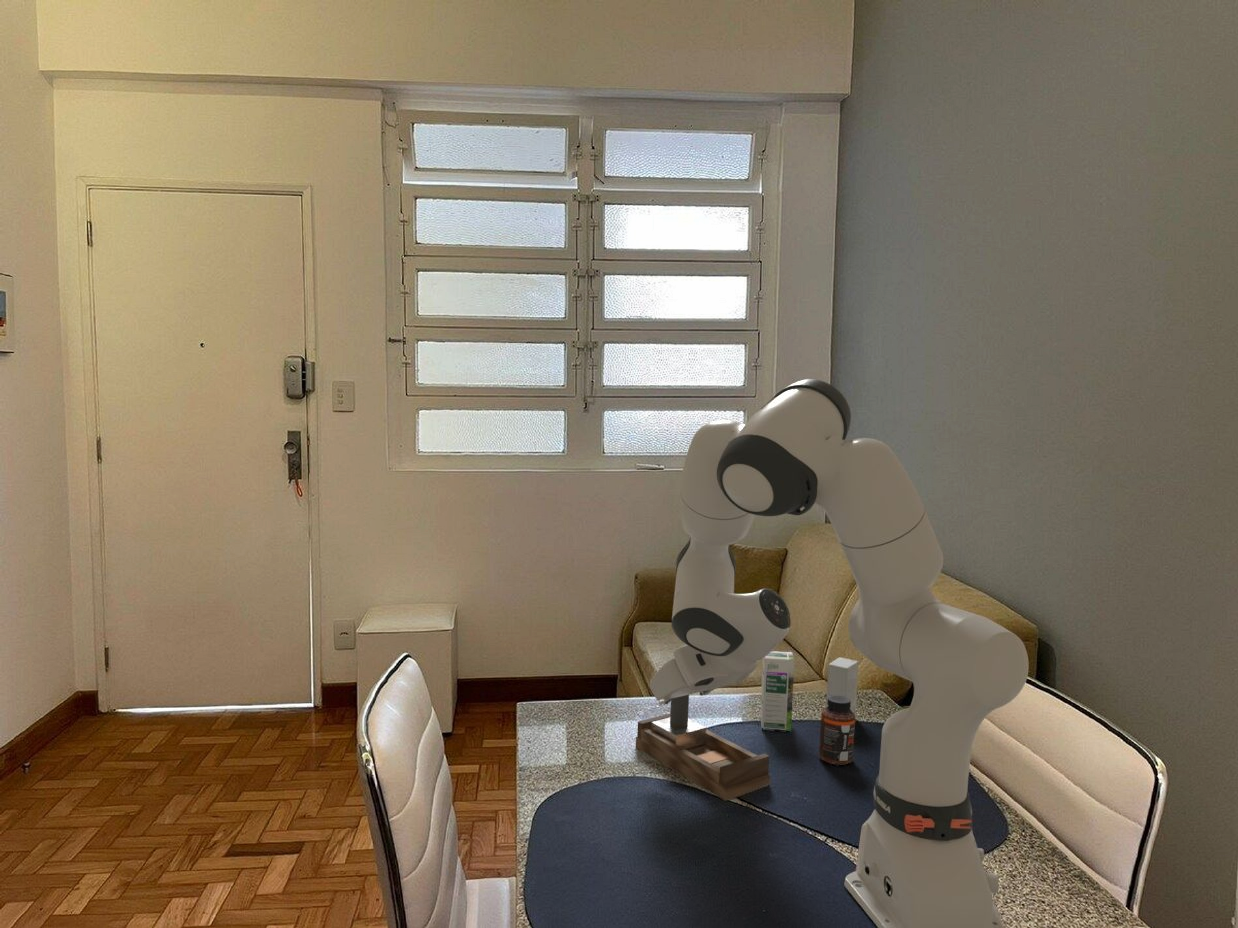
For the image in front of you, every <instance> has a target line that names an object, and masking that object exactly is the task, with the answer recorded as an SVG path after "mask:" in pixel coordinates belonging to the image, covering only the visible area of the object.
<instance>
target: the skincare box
mask: <svg viewBox="0 0 1238 928" xmlns="http://www.w3.org/2000/svg"><path fill="white" fill-rule="evenodd" d="M858 672H859V660H854V659H849V658H845V657H841V656H840V657H837V658H836V659H835V660H833V661H832V662H830V663H828V664H827V682H826V683H827V685H826V703H825V706H826V707H828V705H827V702H828V697H829V696H834V695H837V696H844V697H847V698H849V699H850V701H851V707H850V709H851V711H853V712H854V714H855V717H856V713H857V693H858V678H859V677H858Z"/></svg>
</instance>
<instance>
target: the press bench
mask: <svg viewBox="0 0 1238 928" xmlns="http://www.w3.org/2000/svg"><path fill="white" fill-rule="evenodd" d="M666 718H670V713H667V714H663V715H658V716H655V717H651V718H646V719H642V720H639V721H637V735H636V736H635V748H636V749H637V750H640V751H641V752H642V753H644V754H646V755H647V756H649V757H650V758H653V759H655V760H656V761H657V762H659V763H661V764H663V765H664V766H666V767H668V768H670V769H671V770H673V771H674V772H676V773H678V774H680V775H681V776H683V777H685V778H686V779H688V780H690V781H692V782H693V783H695V784H697V785H698V786H700V787H702V788H703V789H705V790H706V791H708V792H710V793H711V794H713V795H715V796H716V797H719V798H720V799H721V800H722V801H723V800H724V801H730V800H732V799H733V800H734V799H735V798H738V797H741V796H744V795H747V794H750V793H753V792H755V791H754V790H756V791H758V790H757V789H759V788H762V787H764V786H767V785H769V784H770V783H771V774H770V773H769V772H770V771H769V769H770V768H769V767H770V755H768V754H766V753H761V754H756V753H754V752H751V751H749V750H747V749H746V748H743V747H741V746H740V745H738V744H736V743H734V742H732V741H730V740H728V739H726V738H724V737H723V736H720V735H719V734H716V733H714V732H712V731H711V730H708V728H706V744H703V745H699V746H696V747H692V748H689V749H684V748H682V747H680V746H678V745H676V744H675V743H673V742H671V741H669V740H667V739H666V738H664V737H662V736H660V735H658V734H657V733H655V732H653V731H651V724H652V722H654V721H658V720H662V719H666ZM770 785H771V784H770ZM767 787H768V786H767ZM762 789H763V788H762ZM759 790H760V789H759ZM752 791H753V792H752ZM749 792H750V793H749ZM746 793H747V794H746Z"/></svg>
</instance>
